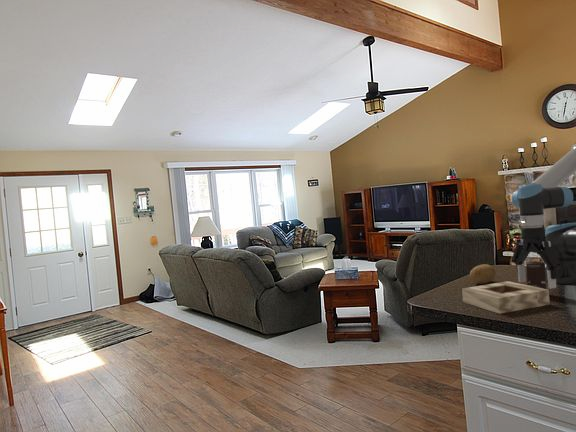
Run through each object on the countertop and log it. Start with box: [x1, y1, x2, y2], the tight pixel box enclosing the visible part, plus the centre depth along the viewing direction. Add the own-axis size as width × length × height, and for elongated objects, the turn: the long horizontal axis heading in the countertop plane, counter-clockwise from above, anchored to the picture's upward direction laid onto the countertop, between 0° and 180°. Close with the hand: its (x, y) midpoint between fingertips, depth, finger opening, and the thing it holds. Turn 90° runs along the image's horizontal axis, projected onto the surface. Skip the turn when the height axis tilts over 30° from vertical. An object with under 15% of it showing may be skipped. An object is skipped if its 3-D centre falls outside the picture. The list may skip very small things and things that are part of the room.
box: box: [525, 260, 547, 289], centre depth 155 cm, size 6×4×12 cm
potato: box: [469, 263, 496, 285], centre depth 181 cm, size 10×14×8 cm
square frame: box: [461, 280, 551, 314], centre depth 148 cm, size 20×18×5 cm
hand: (536, 284), depth 155 cm, fingers open, 13 cm apart
